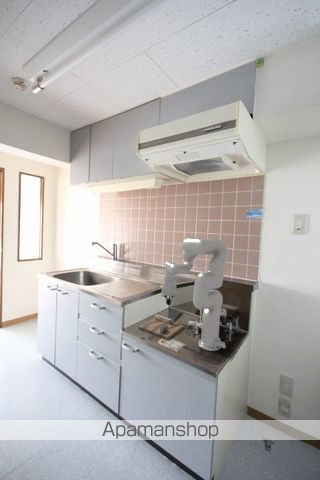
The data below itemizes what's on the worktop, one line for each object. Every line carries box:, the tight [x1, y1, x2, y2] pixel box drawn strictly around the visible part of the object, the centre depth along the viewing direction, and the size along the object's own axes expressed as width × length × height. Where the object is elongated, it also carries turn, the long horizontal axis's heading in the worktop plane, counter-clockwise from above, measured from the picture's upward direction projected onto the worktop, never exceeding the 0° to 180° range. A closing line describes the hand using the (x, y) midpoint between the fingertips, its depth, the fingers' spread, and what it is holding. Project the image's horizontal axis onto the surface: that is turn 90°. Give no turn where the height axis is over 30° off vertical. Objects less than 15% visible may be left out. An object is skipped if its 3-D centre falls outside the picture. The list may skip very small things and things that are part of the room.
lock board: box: [138, 318, 185, 340], centre depth 144 cm, size 22×20×2 cm
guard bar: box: [153, 313, 175, 324], centre depth 152 cm, size 15×3×3 cm, turn 55°
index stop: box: [160, 325, 168, 333], centre depth 137 cm, size 2×5×4 cm, turn 145°
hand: (168, 304), depth 158 cm, fingers closed
